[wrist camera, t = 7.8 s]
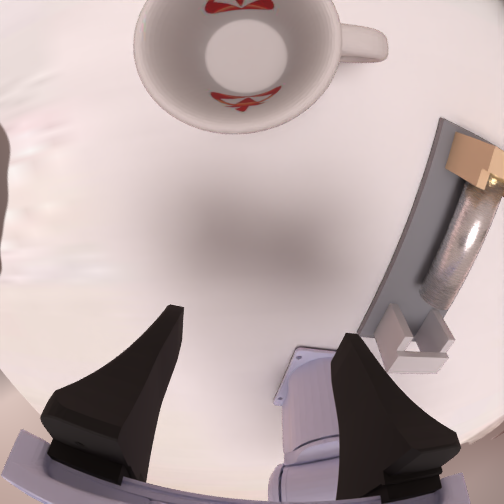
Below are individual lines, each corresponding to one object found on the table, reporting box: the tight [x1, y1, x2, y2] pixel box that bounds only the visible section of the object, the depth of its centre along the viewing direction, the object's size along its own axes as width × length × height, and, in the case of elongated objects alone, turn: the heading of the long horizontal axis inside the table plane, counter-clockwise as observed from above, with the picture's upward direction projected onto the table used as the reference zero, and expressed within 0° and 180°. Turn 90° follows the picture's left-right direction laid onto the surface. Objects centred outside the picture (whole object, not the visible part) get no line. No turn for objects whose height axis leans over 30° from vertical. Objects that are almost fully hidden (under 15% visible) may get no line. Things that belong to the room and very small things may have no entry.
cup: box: [133, 0, 388, 134], centre depth 12 cm, size 11×8×8 cm
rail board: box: [357, 118, 504, 374], centre depth 19 cm, size 19×8×5 cm, turn 170°
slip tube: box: [419, 173, 504, 310], centre depth 18 cm, size 11×3×3 cm, turn 170°
